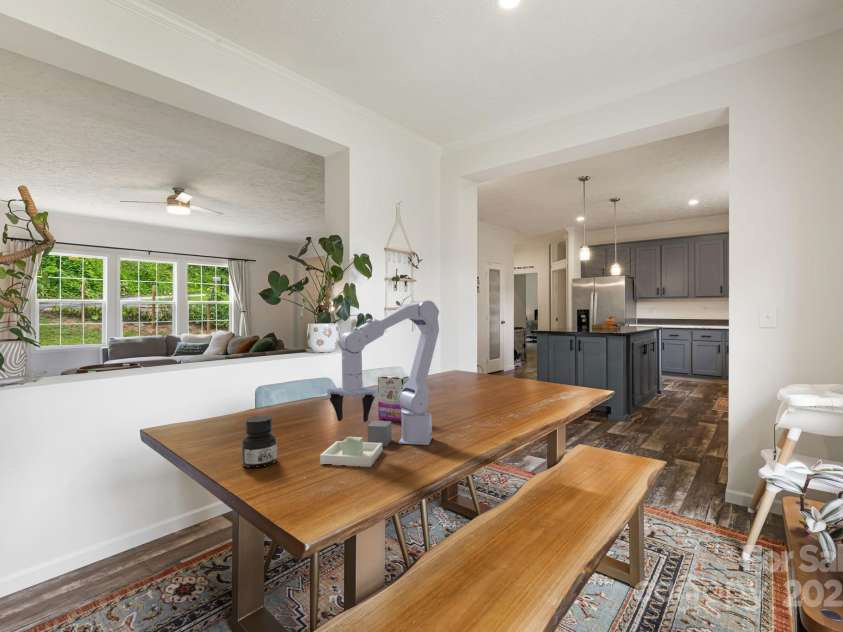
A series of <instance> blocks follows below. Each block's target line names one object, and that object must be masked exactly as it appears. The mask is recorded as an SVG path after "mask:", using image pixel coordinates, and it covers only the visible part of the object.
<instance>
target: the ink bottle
mask: <svg viewBox="0 0 843 632" xmlns="http://www.w3.org/2000/svg"><path fill="white" fill-rule="evenodd" d="M244 423H245V434H246V435H245V436H244V438H242V440H241V464H242V465H243V466H244V465H245V466H249V467H256V466H263V467H265V466H264V465H267V466H269V465H268V464H270V465H272V464H271V463H273V462H274V461H275V462H277V458H278V441H277V440H278V439H277V436H276V434H274V433H273V416H271V415H255V416H251V417H247V418H245V422H244ZM275 462H274V463H275ZM274 463H273V464H274ZM245 466H244V467H245ZM249 467H248V468H249Z"/></svg>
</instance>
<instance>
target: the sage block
mask: <svg viewBox="0 0 843 632" xmlns="http://www.w3.org/2000/svg"><path fill="white" fill-rule="evenodd" d="M363 438H364V437H363V436H346V438H344V439H343V440H342V455H351V456H361V455H362V454H363V442H364V439H363Z"/></svg>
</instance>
